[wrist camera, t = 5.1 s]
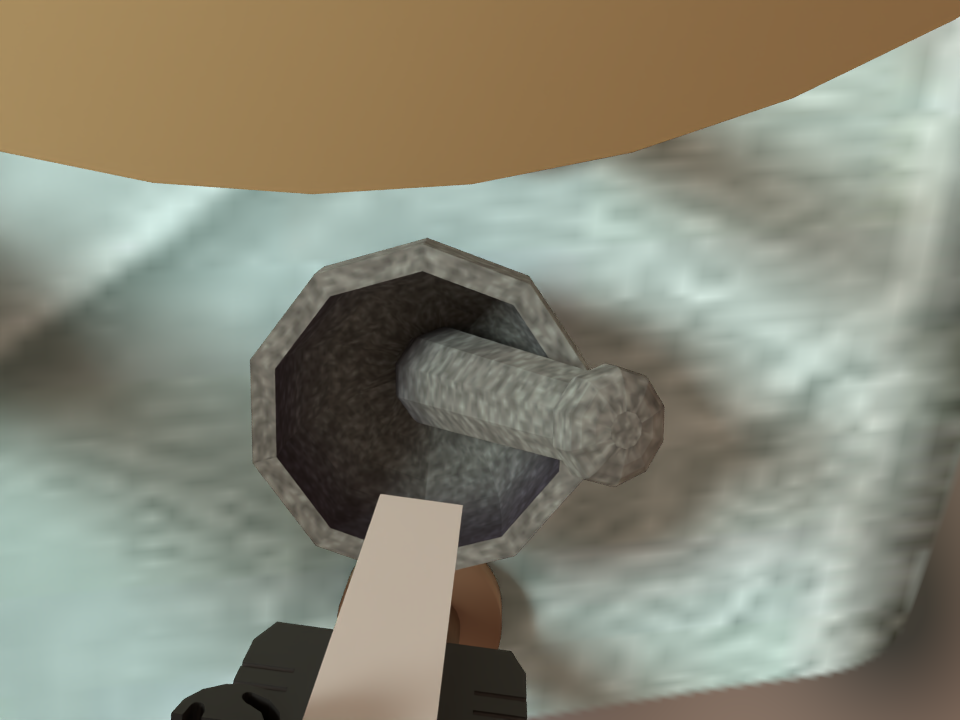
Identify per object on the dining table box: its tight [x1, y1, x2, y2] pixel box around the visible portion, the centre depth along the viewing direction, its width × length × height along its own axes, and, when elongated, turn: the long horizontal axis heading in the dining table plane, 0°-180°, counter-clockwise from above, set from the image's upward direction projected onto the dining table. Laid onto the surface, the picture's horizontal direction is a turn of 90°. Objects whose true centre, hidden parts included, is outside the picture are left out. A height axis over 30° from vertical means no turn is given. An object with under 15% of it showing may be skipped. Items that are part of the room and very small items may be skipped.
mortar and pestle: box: [250, 238, 664, 570], centre depth 26 cm, size 11×9×12 cm
